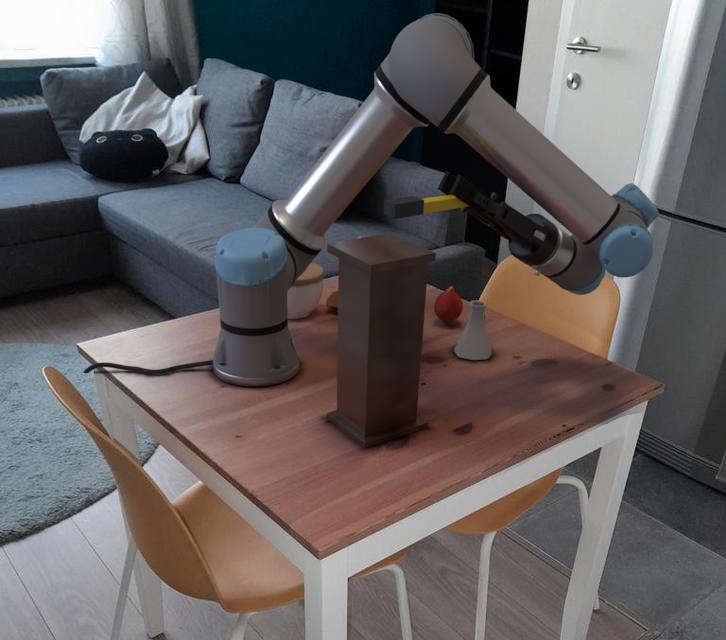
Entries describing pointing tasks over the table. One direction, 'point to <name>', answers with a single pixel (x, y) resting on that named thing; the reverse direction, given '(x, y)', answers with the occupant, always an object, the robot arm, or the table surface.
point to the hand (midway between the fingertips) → (449, 182)
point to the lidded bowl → (305, 292)
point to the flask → (474, 335)
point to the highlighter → (420, 205)
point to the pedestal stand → (379, 336)
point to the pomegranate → (448, 306)
